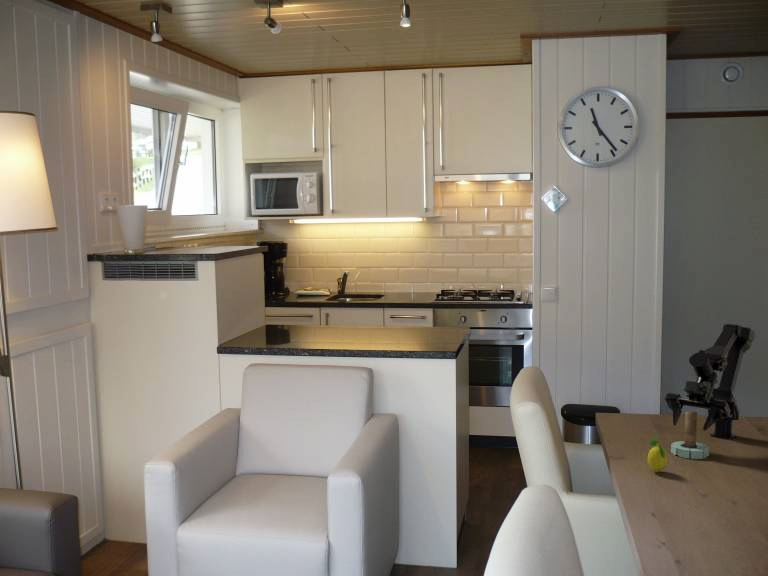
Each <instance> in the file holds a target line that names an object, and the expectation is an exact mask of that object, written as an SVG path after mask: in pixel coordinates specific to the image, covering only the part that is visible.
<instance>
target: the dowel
mask: <svg viewBox="0 0 768 576" xmlns="http://www.w3.org/2000/svg"><path fill="white" fill-rule="evenodd" d="M684 414H685V416H684V440H683V441H684V447H685V448H690V449H693V448H696V443H697V429H698V427H697V426H698V412H697V411H693V410H685V412H684Z"/></svg>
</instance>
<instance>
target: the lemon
mask: <svg viewBox="0 0 768 576" xmlns="http://www.w3.org/2000/svg"><path fill="white" fill-rule="evenodd" d="M659 441H660V438H657V439H656V438H652V439H651V440H650V442H649V445H650V446H652V447H651V449H650V450H649V451H648V454H647V464H648V466H649V467H650V468H651V469H652V470H654V471H655V472H656V473H659V472H660V471H663V470H665V469H666V468H667V467H668V462H669V458H668V454H667V452H666V450H665V449H664V448H663V447H662V446H660V444H659Z"/></svg>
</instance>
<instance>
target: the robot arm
mask: <svg viewBox="0 0 768 576" xmlns="http://www.w3.org/2000/svg"><path fill="white" fill-rule="evenodd" d="M755 335H756V334H755V331H754V330H752V328H751V327H746V326H742V325H739V324H738V323H737V324H735V323H726V324H724V325H723V327H722V331H721V332H720V334H719V336H718V337H717V338H716V340H715V342H714V343H713V345H712V346H710V347H708V348H706V349H699V350H698V352H695V353H693V354H692V355H691V356H690V357H689V358H688V359H689V360H688V362H689V365H690V367H691V370H692V372H693V374H694V375H695V376H696V378H695V380H694V381H693V380H692V381H691V380H685V384H684V388H683V389H684V390H683V391H684V392H686V397H687V398H682V396H681V394H680V393H677V392H676V393H675V392H667V393H666V394H665V397H664V400H665V402H666V405H667V407H668V409H671V411H672V425H673V426H676V425H677V424H678V422H679V419H680V416H681V415H682V412H683V411H682V409H683V407H684V406H685V407H692V408H697V409H704V410H707V417H706V419H705V422H704V424H703V428H702V430H703V432H706V431H707V430H708V429H710V427H712V426H713V432H711V433H709V436H711V437H717V438H722V439H727V440H730V439H732V438H733V437H735V436H736V435H737V433H733V425H734V421H739V419H740V415H741V414H740V413H741V412H740V408H739V406H738V404H737V402H738V401H737V397H736V395H735V393H734V391H735V388H736V384H737V379H738V376H739V372H740V369H741V363H742V360H743V357H744V354H745V353H746V352H747V351H748V350H749V349H750V348H751V346H752V343H753V342H754V341H755ZM717 372H719V373H721V372H722V374H721V378H720V380H719V382H718V374H717ZM718 383H719V386H717V387H716V388H715V385H716V384H718Z"/></svg>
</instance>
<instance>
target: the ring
mask: <svg viewBox="0 0 768 576" xmlns="http://www.w3.org/2000/svg"><path fill="white" fill-rule="evenodd" d="M670 446H671V447H670V453H671V454H672V453H673V454H672V455H674V456H675V455H678V456H679V457H678V456H677V457H678V458H682V457H683V458H682V459H687V458H688V459H690V460H700V459H701V460H703V459H707V458H708V457H710V447H709V446H707V445H706V444H704V443H702V442H701V443H700V442H696V448H693V449H690V448H685V447H684V440H683V441H682V440H681V441H680V440H679V441H675V442H672V443H671V445H670ZM707 456H708V457H707Z"/></svg>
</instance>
